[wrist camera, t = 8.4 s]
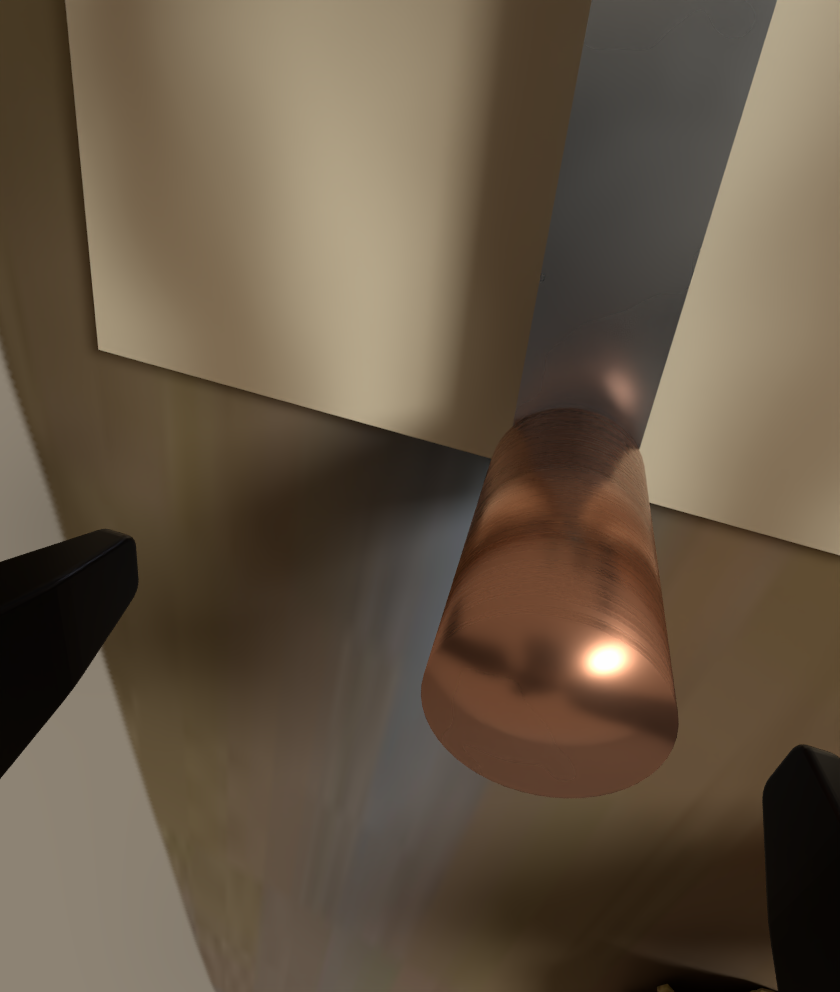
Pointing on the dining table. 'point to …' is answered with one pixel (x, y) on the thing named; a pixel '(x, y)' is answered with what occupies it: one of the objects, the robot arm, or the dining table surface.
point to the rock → (667, 991)
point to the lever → (594, 420)
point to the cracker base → (450, 228)
